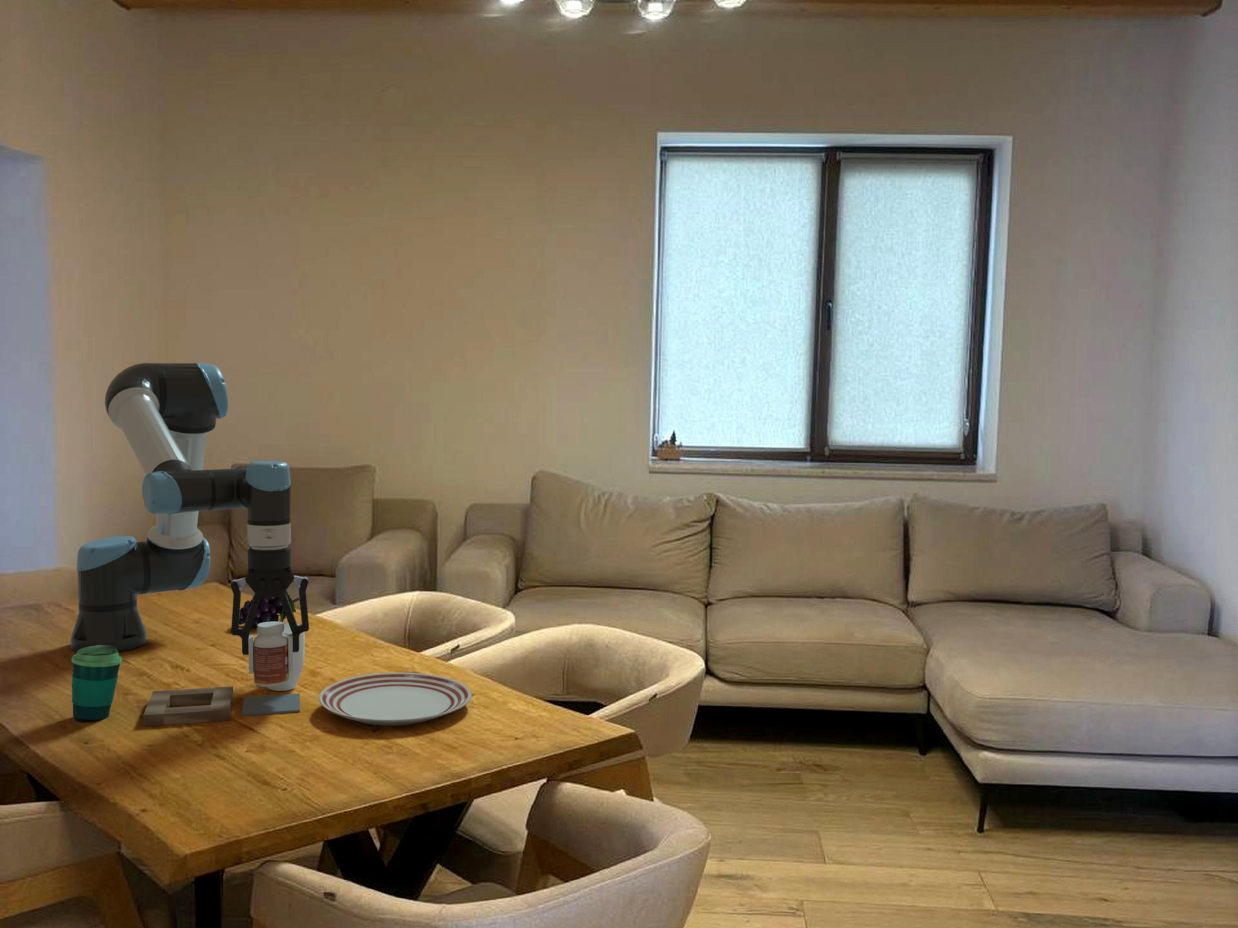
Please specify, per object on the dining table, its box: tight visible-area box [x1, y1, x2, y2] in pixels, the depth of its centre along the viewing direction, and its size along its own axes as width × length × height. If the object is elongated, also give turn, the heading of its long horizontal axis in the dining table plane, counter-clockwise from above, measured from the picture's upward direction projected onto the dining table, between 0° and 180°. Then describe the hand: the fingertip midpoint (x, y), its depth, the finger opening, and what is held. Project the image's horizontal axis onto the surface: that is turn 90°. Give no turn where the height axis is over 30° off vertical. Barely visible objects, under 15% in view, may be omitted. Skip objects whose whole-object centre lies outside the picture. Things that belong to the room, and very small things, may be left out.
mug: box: [256, 622, 306, 692], centre depth 215 cm, size 12×9×12 cm
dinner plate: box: [318, 671, 472, 727], centre depth 203 cm, size 27×27×3 cm
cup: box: [71, 645, 123, 723], centre depth 196 cm, size 8×8×12 cm
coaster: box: [241, 693, 301, 717], centre depth 204 cm, size 10×10×1 cm
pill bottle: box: [253, 621, 289, 688], centre depth 203 cm, size 6×6×11 cm
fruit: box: [239, 589, 300, 627], centre depth 262 cm, size 10×11×15 cm
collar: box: [142, 685, 234, 727], centre depth 200 cm, size 14×14×2 cm
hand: (271, 670), depth 203 cm, fingers closed on pill bottle, 6 cm apart
